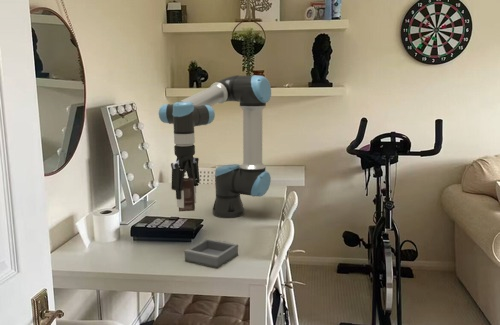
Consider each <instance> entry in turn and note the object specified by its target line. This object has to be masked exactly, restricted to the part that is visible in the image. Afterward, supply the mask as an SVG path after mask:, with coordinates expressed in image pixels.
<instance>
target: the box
mask: <svg viewBox="0 0 500 325" xmlns="http://www.w3.org/2000/svg"><path fill="white" fill-rule="evenodd" d="M182 190H183V191H184V208H180V207H178V212H193V211H194V212H195V210H196V203H195V198H194V178H188V177H184V180H183V186H182Z"/></svg>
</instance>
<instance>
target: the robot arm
mask: <svg viewBox="0 0 500 325" xmlns="http://www.w3.org/2000/svg"><path fill="white" fill-rule="evenodd" d="M271 97H272V87H271V84H270V82H269V80H268V78H267V77H265V76H264V75H258V74H257V75H255V74H254V75H252V74H251V75H250V74H249V75H231V76H228V77H224V78H222V79H219V80H217V81H216V82H214V83H212V84H211V85H210V86H209V87H208V88H205V89H203V90H201V91H199V92H197V93H195V94H192V95H190V96H188V97H186V98H184V99H182V100H179V101H176V102H174V103H172V104H171V103H166V104H162V105H161V106H160V108H159V110H158V118H159V120H160V121H161V122H162V123H163V124H164V123H165V124H169V125H173V143H174V147H173V148H174V149H173V150H174V156H176V160H175V162H171V163H170V167H171V188H170V189H171V190H172V191H175V199H176V207H177V208H179V207H180V208H184V191H183V190H182V186H183V180H184V178H185V173H186V174H187V178H194V198H195V204H196V203H197V187H198V186H199V183H200V182H201V181H200V180H201V179H200V178H201V177H200V172H199V171H200V169H199V157H194V155H195V154H196V146H195V143H196V140H195V139H196V137H195V136H196V135H195V127H200V126H207V125H209V124H211V123H213V121H214V120H215V118H216V116H215V110H214V109H213V107H212V106H215V105H216V104H224V103H226V102H236V103H237V102H239V107H240V108H241V109H242V124H243V125H242V126H243V127H242V145H243V146H242V150H243V151H242V154H243V157H242V159H243V161H242V164H241V165H240V164H236V163H235V164H234V163H233V164H224V165H220V166H218V167H216V168H215V170H214V171H215V172H214V180H215V181H214V182H215V183H214V185H215V198H214V199H215V200H214V202H213V206H212V215H213V216H214V217H218V218H222V219H223V218H230V219H231V218H237V217H240V216H243V215H244V214H245V206H244V204H243V201H242V198H241V195H244V196H249V197H263V196H264V195H266V194H267V193H268V190H269V188H270V186H271V181H272V178H271V174H270V172H268V171H267V169H266V165H265V164H264V163H263V110H264V109H265V108H266V107H267V103H269V101H270V100H271Z"/></svg>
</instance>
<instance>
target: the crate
mask: <svg viewBox="0 0 500 325" xmlns="http://www.w3.org/2000/svg"><path fill="white" fill-rule="evenodd" d="M183 251H184V262H186V263H189V264H196V265H199V266H205V267H210V268H214V269H219V268H221V267H222V266H223V265H226V264H227V263H228V262H230V261H231V260H233V259H235V258H236V257H237V256H239V244H238V243H233V242H228V241H221V240H217V239H212V238H208V237H207V238H204V240H201V242H198V243H197V244H194V245H193V246H191V247H189V248H187V249H185V250H183Z"/></svg>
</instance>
